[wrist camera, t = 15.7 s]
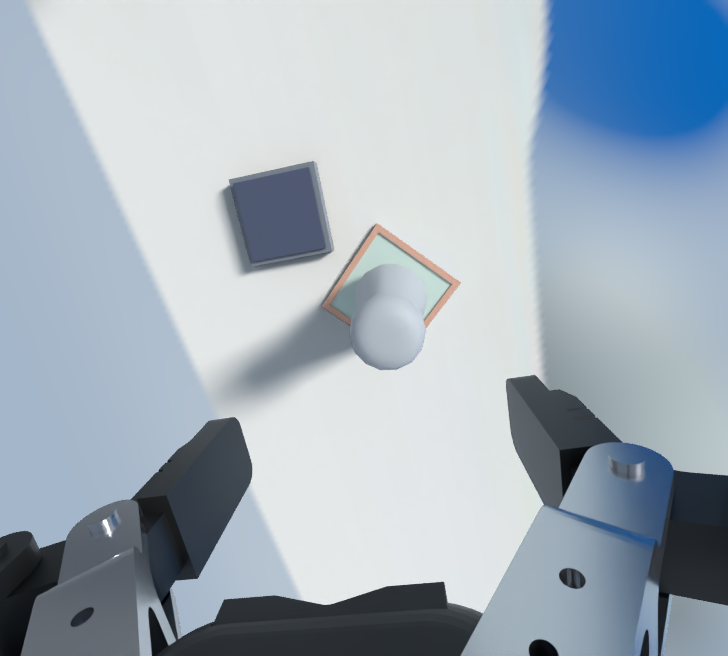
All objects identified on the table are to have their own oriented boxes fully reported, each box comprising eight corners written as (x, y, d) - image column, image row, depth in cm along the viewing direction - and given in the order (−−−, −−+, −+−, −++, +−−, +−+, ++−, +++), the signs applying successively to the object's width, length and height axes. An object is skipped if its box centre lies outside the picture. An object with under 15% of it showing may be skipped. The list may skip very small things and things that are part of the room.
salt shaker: (435, 277, 33) (461, 311, 20) (408, 337, 34) (415, 403, 22) (371, 249, 33) (356, 268, 20) (346, 311, 34) (318, 364, 22)
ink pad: (234, 181, 32) (226, 179, 31) (316, 163, 31) (312, 160, 30) (256, 265, 34) (249, 267, 32) (334, 250, 33) (331, 251, 32)
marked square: (322, 305, 34) (321, 306, 34) (377, 223, 32) (377, 223, 32) (401, 358, 35) (401, 360, 35) (460, 281, 33) (460, 282, 32)
